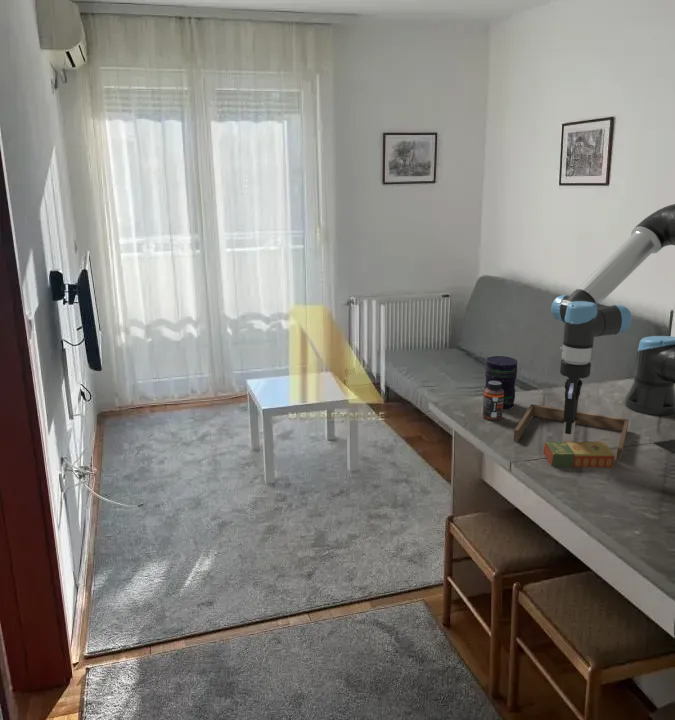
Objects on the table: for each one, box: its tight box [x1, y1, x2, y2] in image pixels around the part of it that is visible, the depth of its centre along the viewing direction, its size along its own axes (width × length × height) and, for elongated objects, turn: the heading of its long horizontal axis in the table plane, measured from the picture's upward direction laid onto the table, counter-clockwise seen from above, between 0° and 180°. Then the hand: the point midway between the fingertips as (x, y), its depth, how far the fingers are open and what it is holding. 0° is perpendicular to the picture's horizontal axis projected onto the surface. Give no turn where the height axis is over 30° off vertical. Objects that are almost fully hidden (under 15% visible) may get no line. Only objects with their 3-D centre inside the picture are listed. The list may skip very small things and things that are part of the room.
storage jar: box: [483, 355, 518, 410], centre depth 216 cm, size 10×10×15 cm
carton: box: [542, 440, 616, 468], centre depth 178 cm, size 8×16×4 cm, turn 88°
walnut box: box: [513, 403, 630, 462], centre depth 193 cm, size 28×23×4 cm
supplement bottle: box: [482, 381, 504, 421], centre depth 206 cm, size 6×6×11 cm
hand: (567, 443), depth 184 cm, fingers closed
